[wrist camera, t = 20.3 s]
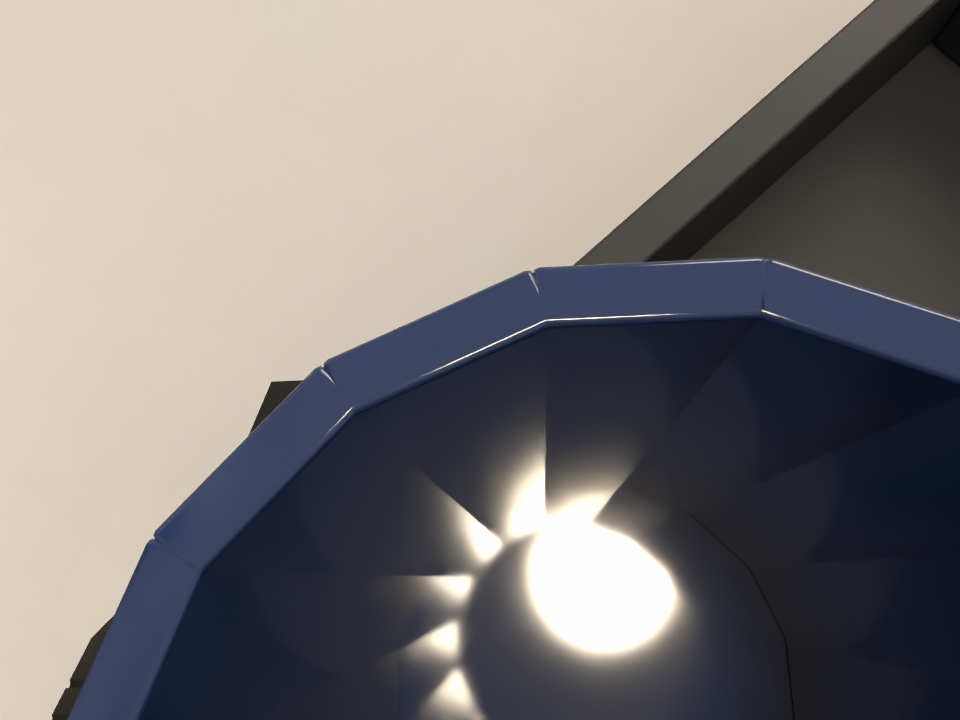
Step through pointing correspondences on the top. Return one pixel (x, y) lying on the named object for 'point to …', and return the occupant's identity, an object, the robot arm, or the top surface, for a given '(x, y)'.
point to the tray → (832, 167)
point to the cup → (577, 517)
